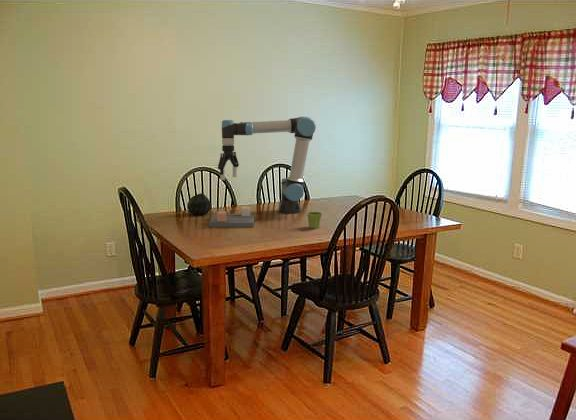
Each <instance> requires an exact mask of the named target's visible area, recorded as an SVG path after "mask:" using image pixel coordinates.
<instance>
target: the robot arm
mask: <svg viewBox="0 0 576 420" xmlns="http://www.w3.org/2000/svg"><path fill="white" fill-rule="evenodd" d="M316 128H317V126H316V122H315V120H314V119H312V118H311V117H309V116H299V117H294V118H288V119H285V120H284V119H283V120H267V121H246V122H243V121H242V122H241V121H240V122H238V123H237V122H235V121H234V120H233V119H223V120H222V121H221V144H222V146H221V150H222V152H221V153H220V154H219V155H220V157H219V161H218V164H217V170H219V175H220V181H225V180H226V176H225V175H226V174H225V172H226V171H225V167H226V164H227V162H228V161H230V164H231V165H232V178H238V174H237V173H238V168H239V166H240V164H239V161H238V158H237V152H236V151H235V136H253V134H269V133H272V134H273V133H275V134H276V133H289V134H294V139H295V142H294V143H295V144H294V150H293V155H292V161H291V166H290V173H289V176H288V177H286V178H281V183H280V184H281V186H280V187H281V188H280V189H281V193H280V194H281V195H280V197H281V198H280V203H279V205H278V212H279V213H281V214H287V215H288V214H293V215H294V214H299V213H301V210H302V209H301V206H300V202H299V201H300V200H301V199H302V198H303V196H304V195H305V193H304V192H305V191H304V185H305V180H304V179H303V176H304V174H305V173H304V172H305V166H306V161H307V155H308V151H309V145H310V142H311V141H312V140H313V137H314V136H313V135H314V133H315V132H316Z"/></svg>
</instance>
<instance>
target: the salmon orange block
mask: <svg viewBox="0 0 576 420" xmlns="http://www.w3.org/2000/svg"><path fill="white" fill-rule="evenodd" d="M216 214H217V222H226V214H227V211H224V210H222V211H221V210H219V211H217V213H216Z"/></svg>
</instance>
